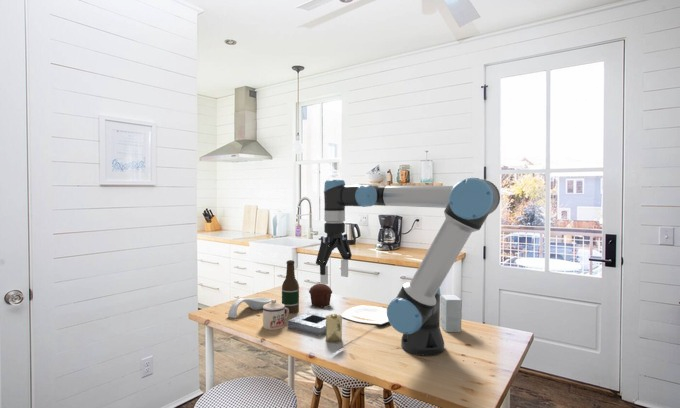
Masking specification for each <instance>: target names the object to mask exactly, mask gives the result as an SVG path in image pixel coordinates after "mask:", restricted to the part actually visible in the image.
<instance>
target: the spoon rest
mask: <svg viewBox="0 0 680 408" xmlns="http://www.w3.org/2000/svg"><path fill="white" fill-rule="evenodd" d="M271 300H272V299H271V298H267V297H250V298H245V297H239V298H238V299H236V300H235V301H234V302H233V303H232V304H231V306H230V308H229V310H228V313H227V318H231V319H237V316H238V315H237V313H238V312H237V311H238V308H239V306H240V305H241V304H242V303H245V304H246V305H247V306H248V307H249V308H250V309H251V310H254V311H256V310H257V311H259V310H263V309H262V308H263V306H264V305H265V304H268V303H269V302H271Z"/></svg>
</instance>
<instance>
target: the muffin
mask: <svg viewBox="0 0 680 408" xmlns="http://www.w3.org/2000/svg"><path fill="white" fill-rule="evenodd" d="M308 293H309V295H310V300H311V301H310V302H311V306H312V307H314V308H327V307H329V306H330V304H331V297H332V294H333V290H332V289H331V288H330V286H329V285H328V284H321V283H316V284H314V285H313V286H311V287H310V288H309V290H308Z"/></svg>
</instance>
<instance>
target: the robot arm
mask: <svg viewBox="0 0 680 408" xmlns="http://www.w3.org/2000/svg"><path fill="white" fill-rule="evenodd" d="M345 182H346V181H345V180H344V179H328V180H325V181H324V188H323V189H324V190H323V195H324V197H323V198H324V200H323V201H324V222H325V223H324V224H323V226H324V227H323V230H324V233H325V234H326V236H321V238H320V245H319V248H318V249H319V250H318V253H317V257H316V260H315V264H316V265H317V266H319V277H320V280H319V281H320V283H319V284H325V285H328V284H329V270H328V269H329V265H328V261H329V260H330V257H331V254H332V252H333V251H334V250H335V249H337V250H338V252H339V254H340V256H341V259H340V277H342V278H343V277H345V278H348V277H349V260H351V259H352V251H351V248H350V244H349V240H348V234H347V233H346V232H345V231H346V224H345V221H346V207H363V208H365V207H366V208H367V207H372V206H382V207H383V206H384V207H387V206H388V207H413V208H414V207H415V208H438V209H439V208H441V209H443V208H444V211H443V213H444V216H445V219H444V221H443V223H442V225H441V227H440V229H439V230H438V232H437V233H436V235H435V237H434V239H433V240H432V242H431V244H430V246H429V248H428V250H427V251H426V254H425V255H424V257H423V258H422V261H421V262H420V264H419V266H418V267H417V269H416V272H415V273H414V275H413V277H412V278H411V280H410V281H407V282H404V283H403V285H402V287H401V288H400V290H399V292H398V294H397V296H396V297H395V298H394V299H392V300H391V301H389V303H388V305H387V308H386V309H387V317H388V320H389V322H388V323H389V324H390V326H391V327H392V328H393V329H394V330H395V331H397V332H398V333H400V334H402V337H401V339H400V345H401V348H402V349H403V350H404V351H406V352H407V353H409V354H412V355H418V356H425V357H426V356H430V357H431V356H437V355H439V354H442V353H444V351H445V340H444V337H443V334H442V330H441V326H440V308H441V295H442V294H441V289H440V288H441V286H442V285H443V283H444V281H445V279H446V277H447V275H448V274H449V272H450V271H451V269H452V267H453V265H454V264H455V262H456V260H457V258H459V255H460V254H461V251H462V250H463V249H464V247H465V245H466V243H467V241H468V240H469V238H470V236H471V234H472V233H474V232H477V231H480V230H481V228H482V226H483V225H484V224H485V222H486V220H487V218H488V216H489V215H490V214H492V213H493V212H494V211H496V209H497V208H498V207H499V204H500V201H501V195H500V194H501V193H500V191H499V189H498V187H497V186H496V185H495V184H494V183H493V182H492V181H489V180H487V179H482V178H480V177H469V178H465V179H463V180H460V181H459V182H457V183H456V184H455V185H380V184H379V185H378V184H377V185H372V184H353V185H352V184H351V185H348V184H346V183H345Z"/></svg>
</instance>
